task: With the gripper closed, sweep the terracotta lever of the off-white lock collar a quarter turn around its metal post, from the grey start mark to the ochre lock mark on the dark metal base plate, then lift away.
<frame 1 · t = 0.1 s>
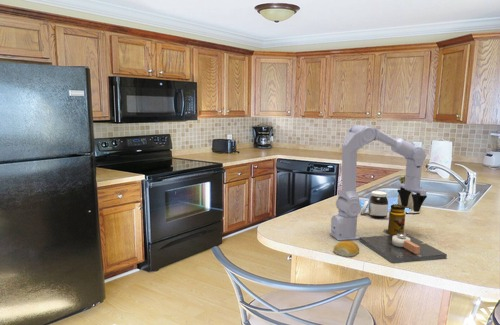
hand: (410, 209, 153), 10 cm above the countertop, tool pointing down, fingers open, 7 cm apart
spread jar: (373, 216, 178), on the countertop
condiment: (393, 234, 153), on the countertop
bread roll: (346, 253, 131), on the countertop
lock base: (400, 249, 135), on the countertop
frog: (407, 211, 189), on the countertop
lock collar: (406, 243, 132), point 3 cm above the countertop, hinge at 0.0°
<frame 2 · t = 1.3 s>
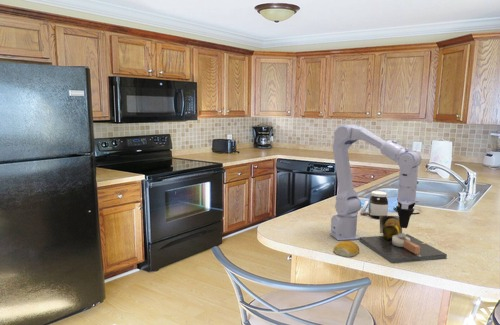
hand: (404, 224, 130), 10 cm above the countertop, tool pointing down, fingers open, 7 cm apart
condiment: (390, 224, 150), point 4 cm above the countertop, touching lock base, lock collar
lock collar: (406, 243, 132), point 3 cm above the countertop, hinge at 0.0°, touching condiment
everything else where it was.
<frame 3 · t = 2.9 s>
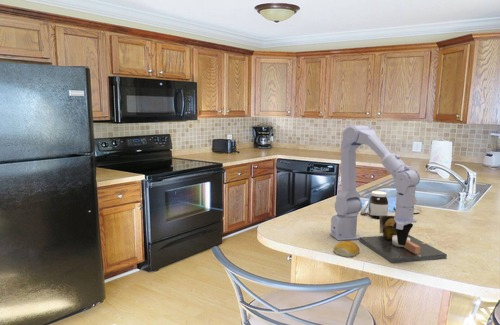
hand: (401, 244, 127), 5 cm above the countertop, tool pointing down, fingers closed
nothing on the countertop moved.
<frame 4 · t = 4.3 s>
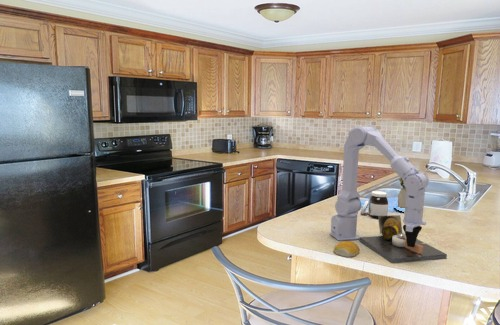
hand: (410, 246, 128), 3 cm above the countertop, tool pointing down, fingers closed, pressing on lock collar
condiment: (390, 224, 150), point 5 cm above the countertop, touching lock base
lock collar: (407, 243, 132), point 3 cm above the countertop, hinge at 8.8°, touching gripper
everything else where it was.
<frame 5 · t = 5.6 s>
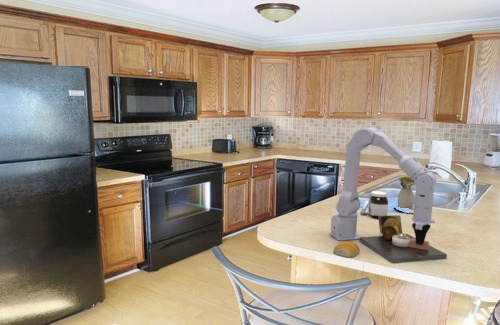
hand: (419, 244, 131), 3 cm above the countertop, tool pointing down, fingers closed, pressing on lock collar
lock collar: (410, 242, 134), point 3 cm above the countertop, hinge at 50.4°, touching gripper
everything else where it was.
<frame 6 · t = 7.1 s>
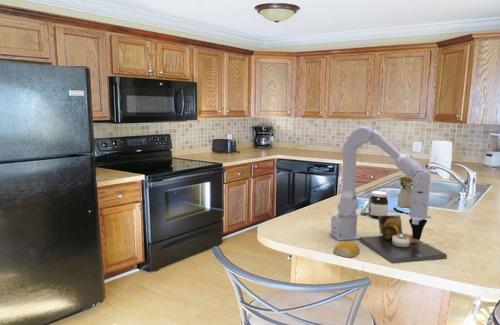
hand: (416, 238, 136), 4 cm above the countertop, tool pointing down, fingers closed, pressing on lock collar
lock collar: (406, 239, 136), point 3 cm above the countertop, hinge at 106.6°, touching gripper
everything else where it was.
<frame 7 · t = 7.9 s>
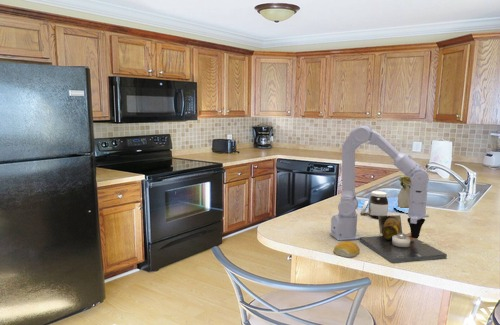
hand: (414, 237, 137), 4 cm above the countertop, tool pointing down, fingers closed, pressing on lock collar
lock collar: (405, 239, 137), point 3 cm above the countertop, hinge at 117.5°, touching gripper
everything else where it was.
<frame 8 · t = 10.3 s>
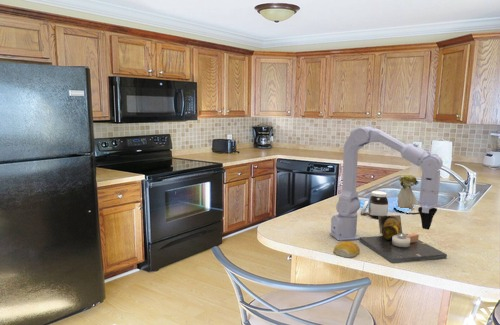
hand: (425, 228, 129), 9 cm above the countertop, tool pointing down, fingers closed
lock collar: (406, 239, 136), point 3 cm above the countertop, hinge at 108.7°
everything else where it was.
at the end: lock collar at +109° (first picture: +0°); the gripper is holding nothing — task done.
